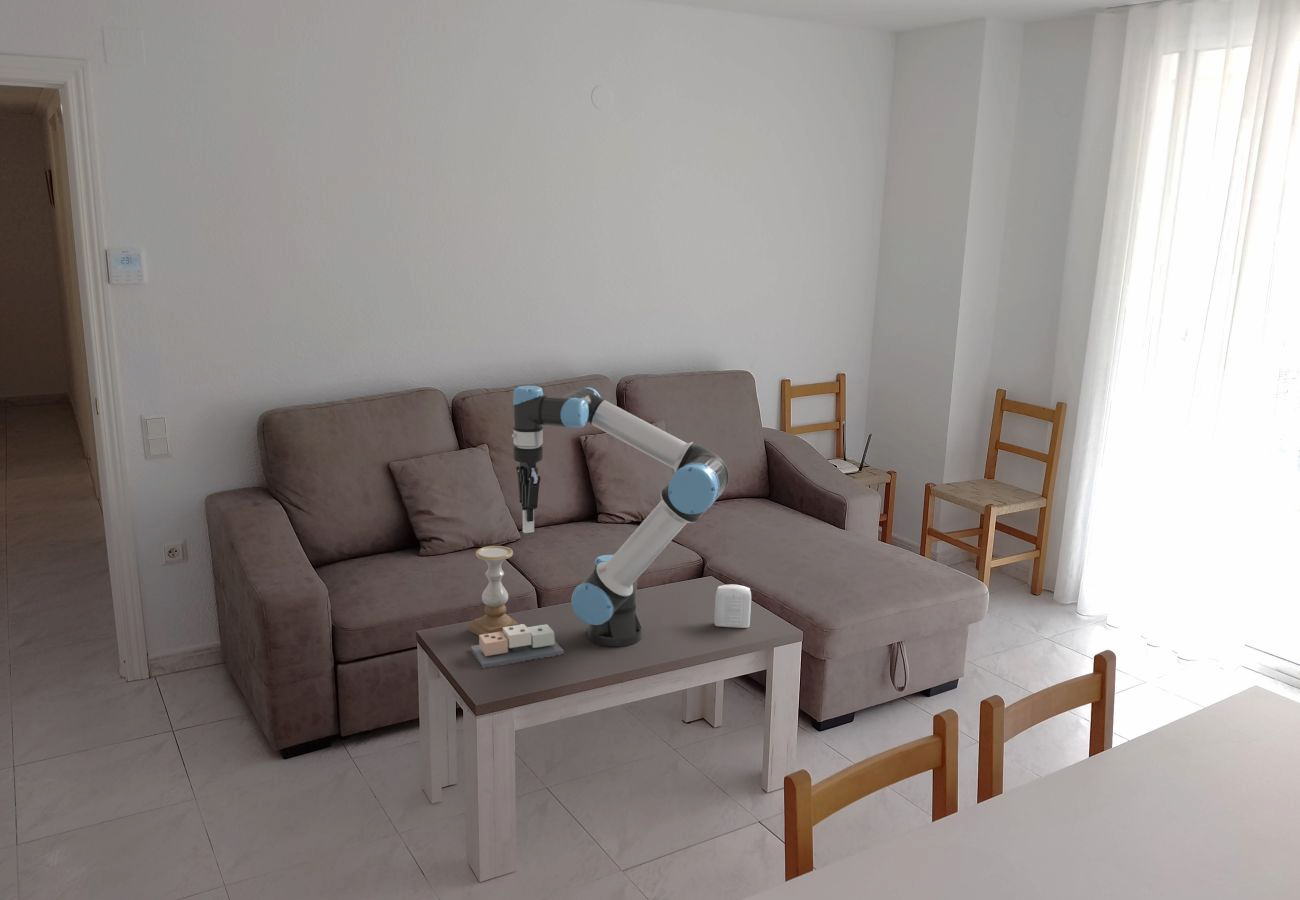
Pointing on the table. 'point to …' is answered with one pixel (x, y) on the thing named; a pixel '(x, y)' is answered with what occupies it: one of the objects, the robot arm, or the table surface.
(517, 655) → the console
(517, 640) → the two pip key
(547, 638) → the one pip key
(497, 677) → the table surface
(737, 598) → the photo printer
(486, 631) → the candle holder
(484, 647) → the three pip key
